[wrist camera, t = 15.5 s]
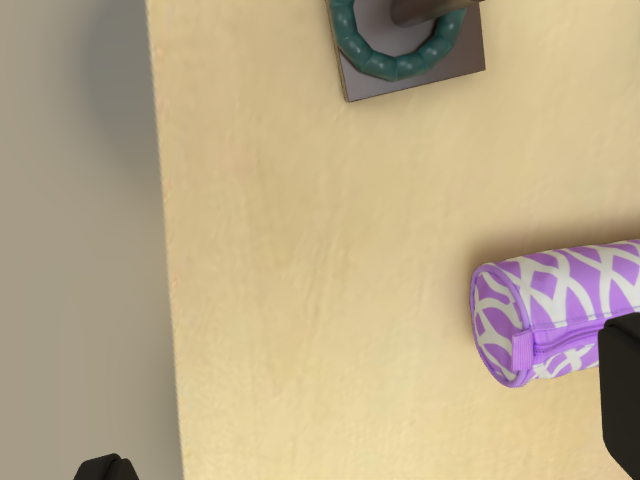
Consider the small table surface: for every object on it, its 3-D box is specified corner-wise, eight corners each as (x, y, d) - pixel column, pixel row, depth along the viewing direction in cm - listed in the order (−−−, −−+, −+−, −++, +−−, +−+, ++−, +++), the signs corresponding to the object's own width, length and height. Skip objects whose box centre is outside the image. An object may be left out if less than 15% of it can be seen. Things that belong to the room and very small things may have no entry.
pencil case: (735, 199, 37) (882, 238, 28) (719, 307, 40) (847, 373, 31) (453, 247, 36) (512, 303, 27) (459, 353, 39) (514, 435, 30)
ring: (345, 93, 30) (348, 94, 29) (315, -48, 28) (317, -54, 26) (468, 62, 30) (477, 61, 29) (449, -83, 28) (458, -90, 26)
